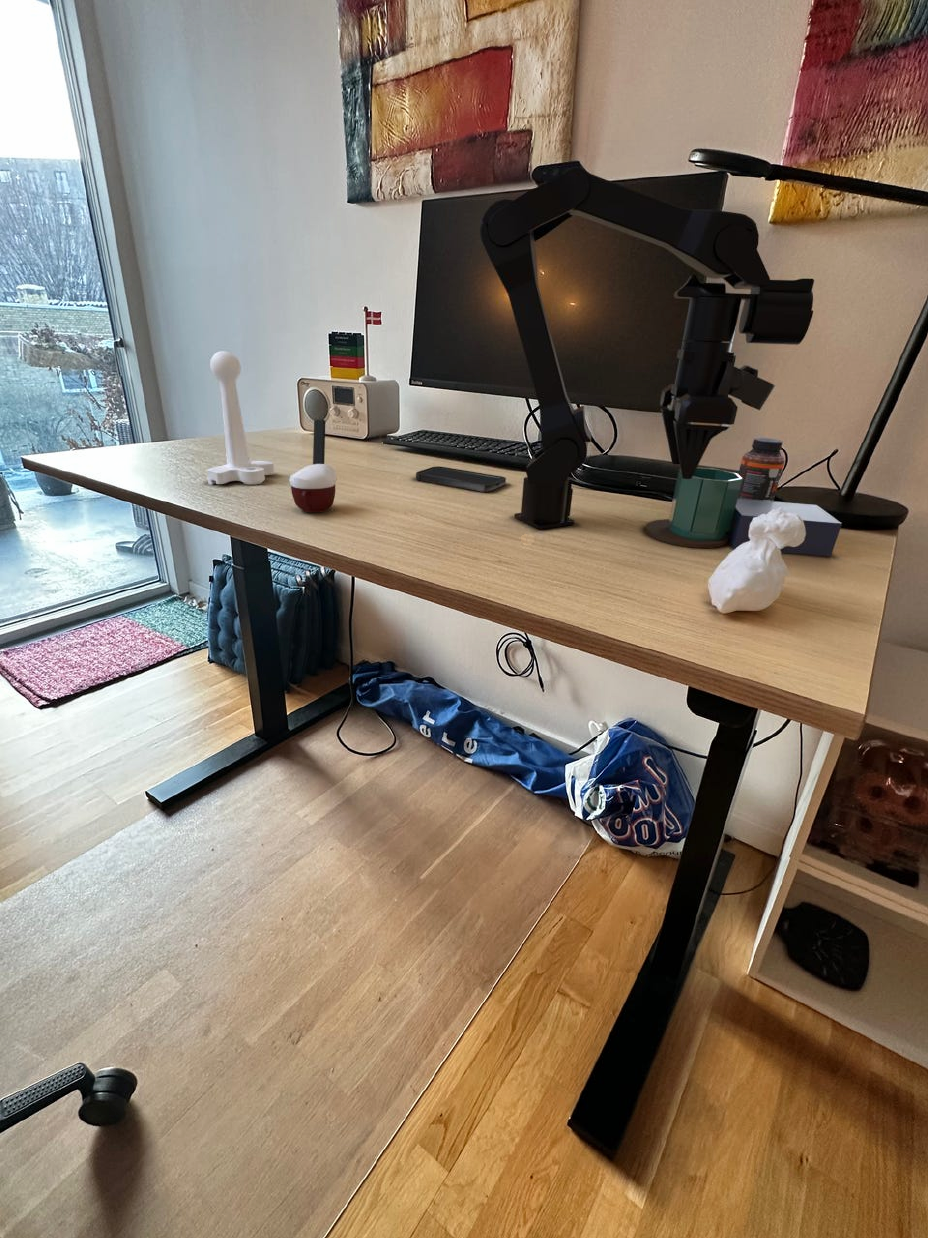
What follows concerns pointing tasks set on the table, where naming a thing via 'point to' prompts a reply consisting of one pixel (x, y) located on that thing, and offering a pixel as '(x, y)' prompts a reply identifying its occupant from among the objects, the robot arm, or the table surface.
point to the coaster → (662, 533)
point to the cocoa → (315, 477)
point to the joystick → (234, 429)
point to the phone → (461, 478)
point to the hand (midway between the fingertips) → (681, 470)
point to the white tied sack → (756, 564)
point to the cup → (704, 504)
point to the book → (815, 519)
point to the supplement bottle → (761, 470)
